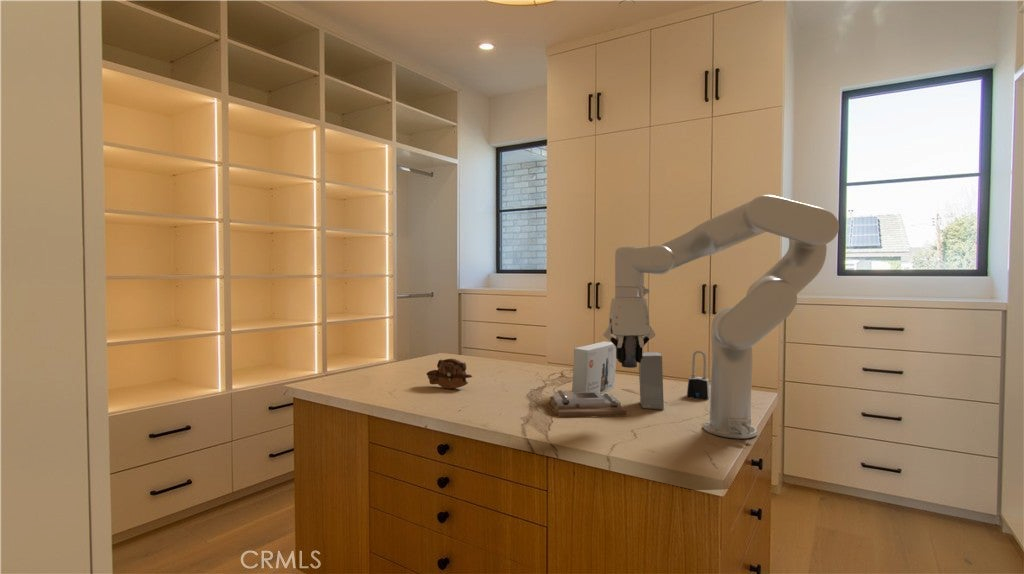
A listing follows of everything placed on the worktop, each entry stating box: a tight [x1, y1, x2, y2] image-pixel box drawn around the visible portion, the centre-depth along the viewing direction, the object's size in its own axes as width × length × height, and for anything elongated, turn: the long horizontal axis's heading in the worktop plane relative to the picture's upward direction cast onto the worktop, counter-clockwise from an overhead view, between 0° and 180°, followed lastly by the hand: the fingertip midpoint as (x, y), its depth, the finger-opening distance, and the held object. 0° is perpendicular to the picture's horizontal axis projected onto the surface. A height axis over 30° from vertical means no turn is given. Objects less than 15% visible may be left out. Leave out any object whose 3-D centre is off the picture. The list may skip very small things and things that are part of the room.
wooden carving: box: [426, 358, 473, 389], centre depth 171 cm, size 16×5×10 cm, turn 73°
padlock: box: [686, 350, 711, 400], centre depth 163 cm, size 7×4×15 cm, turn 62°
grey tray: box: [553, 389, 622, 408], centre depth 149 cm, size 9×18×3 cm, turn 95°
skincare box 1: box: [571, 340, 617, 395], centre depth 167 cm, size 21×5×16 cm, turn 143°
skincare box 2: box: [638, 351, 665, 410], centre depth 152 cm, size 8×7×16 cm
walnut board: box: [549, 396, 627, 418], centre depth 149 cm, size 16×19×2 cm
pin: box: [621, 335, 638, 369], centre depth 135 cm, size 4×4×9 cm
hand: (629, 361), depth 136 cm, fingers closed on pin, 4 cm apart
